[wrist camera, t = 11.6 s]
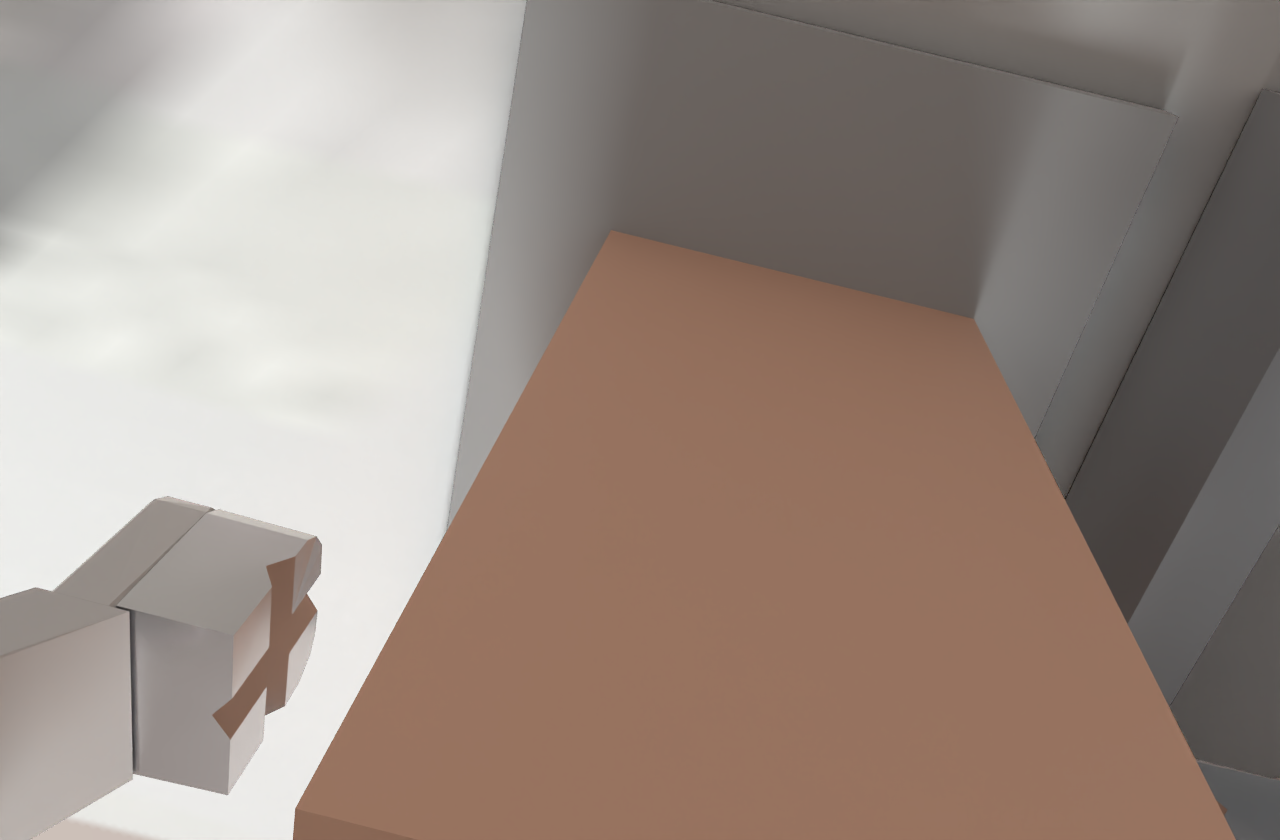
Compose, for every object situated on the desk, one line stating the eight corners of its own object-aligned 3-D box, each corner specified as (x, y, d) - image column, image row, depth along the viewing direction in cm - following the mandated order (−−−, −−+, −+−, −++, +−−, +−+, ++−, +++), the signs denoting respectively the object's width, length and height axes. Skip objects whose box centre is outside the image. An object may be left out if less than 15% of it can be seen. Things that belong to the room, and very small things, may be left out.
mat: (1163, 110, 13) (1178, 116, 12) (883, 748, 18) (886, 769, 17) (542, -42, 13) (532, -41, 12) (436, 635, 18) (428, 653, 17)
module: (973, 319, 14) (1431, 1229, 4) (859, 611, 16) (982, 1634, 6) (610, 230, 14) (233, 923, 4) (548, 534, 16) (212, 1430, 6)
